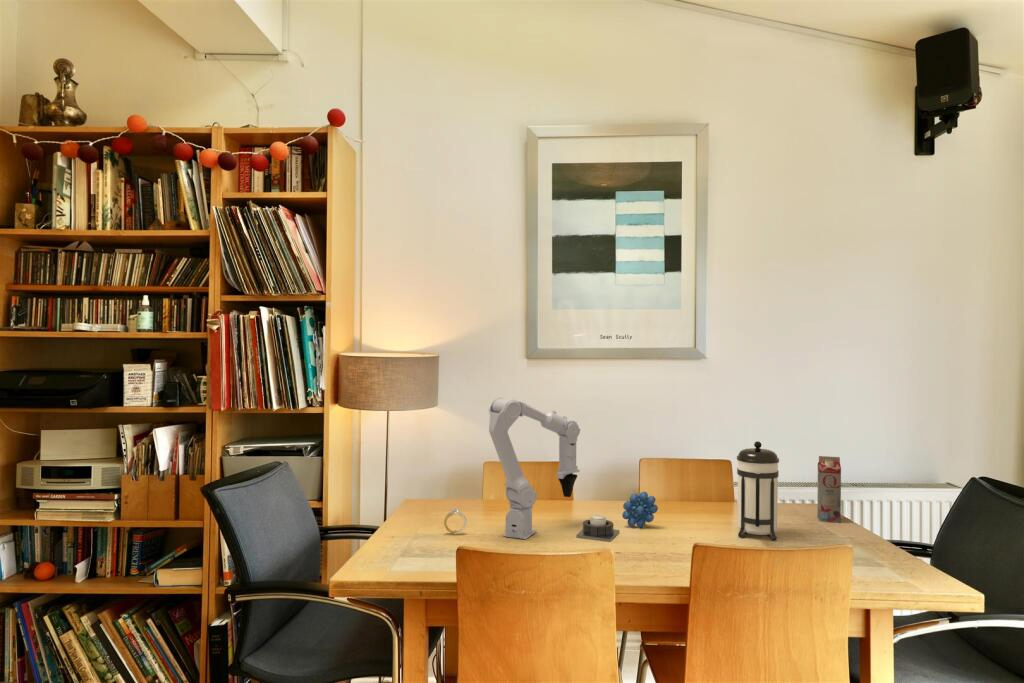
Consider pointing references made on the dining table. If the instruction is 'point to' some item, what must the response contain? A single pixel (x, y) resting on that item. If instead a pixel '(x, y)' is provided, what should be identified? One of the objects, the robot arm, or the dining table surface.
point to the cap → (598, 520)
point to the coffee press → (757, 491)
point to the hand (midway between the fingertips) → (567, 496)
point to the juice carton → (829, 489)
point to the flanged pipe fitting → (598, 531)
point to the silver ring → (451, 515)
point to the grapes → (639, 509)
